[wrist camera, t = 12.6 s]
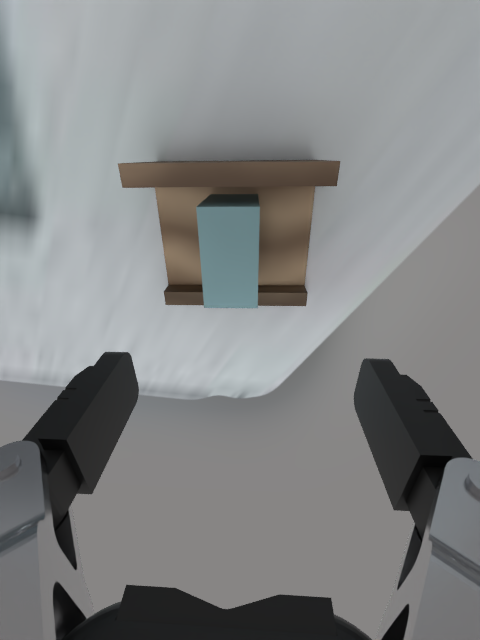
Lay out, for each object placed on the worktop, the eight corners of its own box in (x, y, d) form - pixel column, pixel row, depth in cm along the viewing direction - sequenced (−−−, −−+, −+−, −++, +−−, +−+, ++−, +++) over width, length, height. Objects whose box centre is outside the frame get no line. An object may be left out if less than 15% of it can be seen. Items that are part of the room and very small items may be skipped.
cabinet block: (210, 194, 27) (196, 207, 20) (257, 193, 27) (259, 206, 20) (214, 274, 31) (204, 307, 24) (256, 274, 31) (257, 308, 24)
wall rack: (156, 161, 28) (117, 163, 20) (314, 160, 27) (340, 161, 19) (173, 291, 34) (150, 331, 26) (301, 292, 34) (315, 333, 26)
